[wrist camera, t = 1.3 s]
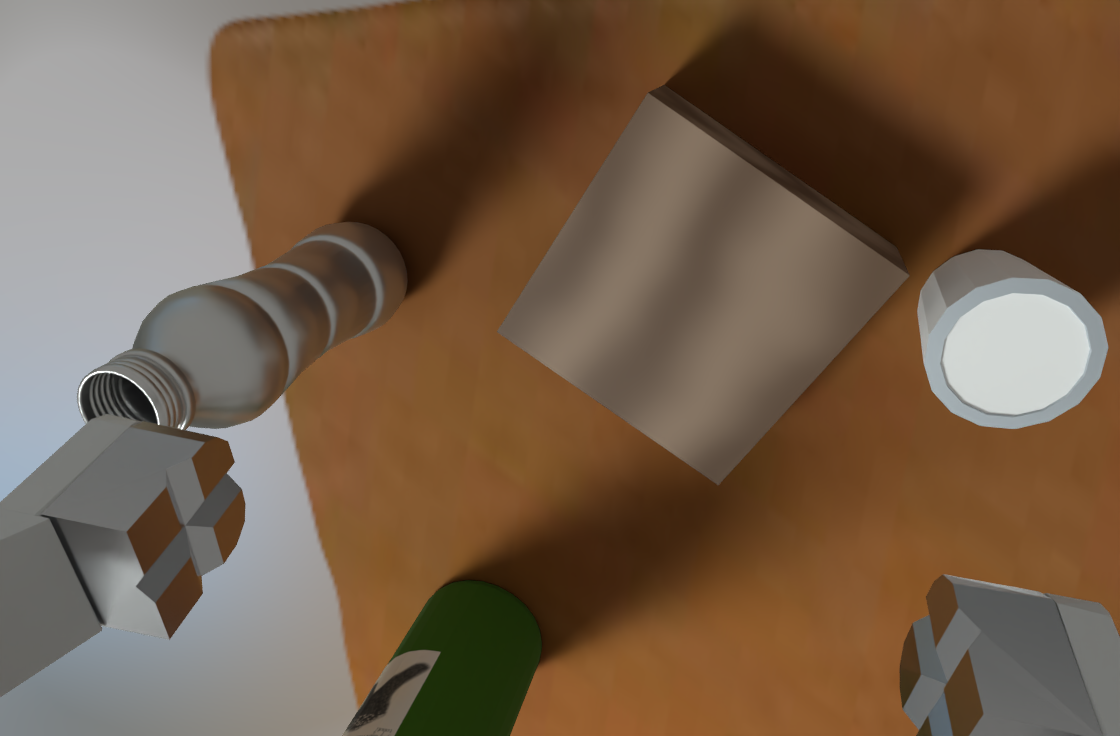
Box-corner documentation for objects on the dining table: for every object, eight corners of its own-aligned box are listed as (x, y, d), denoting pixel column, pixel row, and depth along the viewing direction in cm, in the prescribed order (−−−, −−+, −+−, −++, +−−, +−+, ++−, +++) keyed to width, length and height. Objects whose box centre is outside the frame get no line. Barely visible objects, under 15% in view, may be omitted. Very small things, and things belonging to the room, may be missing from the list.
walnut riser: (896, 246, 39) (909, 275, 35) (725, 440, 46) (718, 485, 41) (664, 84, 39) (647, 92, 35) (525, 301, 46) (496, 331, 41)
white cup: (884, 348, 42) (900, 406, 35) (933, 221, 39) (960, 259, 32) (1022, 383, 40) (1063, 449, 34) (1083, 255, 37) (1142, 301, 31)
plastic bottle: (302, 228, 48) (12, 350, 30) (398, 200, 45) (147, 315, 28) (341, 327, 50) (92, 496, 32) (436, 306, 47) (224, 476, 30)
